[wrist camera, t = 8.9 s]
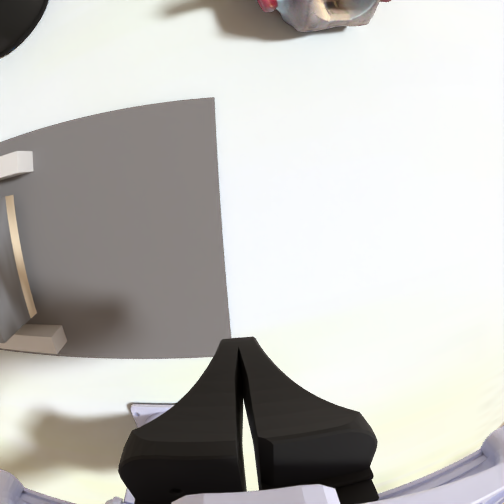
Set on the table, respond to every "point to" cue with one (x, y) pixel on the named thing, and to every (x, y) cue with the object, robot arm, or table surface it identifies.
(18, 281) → the grey beige angular piece
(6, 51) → the aerosol can
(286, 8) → the brake caliper
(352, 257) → the table surface
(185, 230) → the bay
